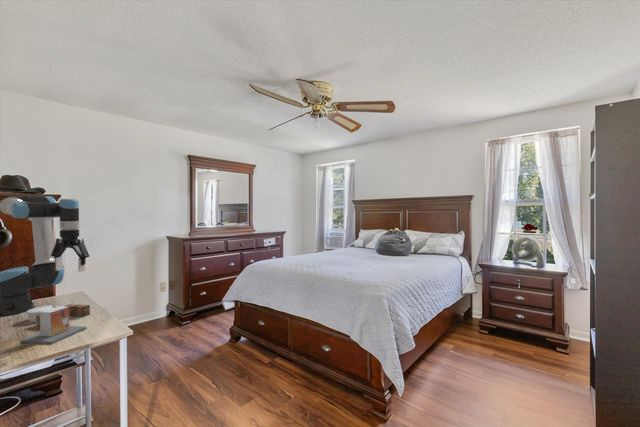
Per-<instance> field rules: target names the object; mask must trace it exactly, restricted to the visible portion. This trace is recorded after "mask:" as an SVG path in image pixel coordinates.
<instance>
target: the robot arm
mask: <svg viewBox="0 0 640 427" xmlns="http://www.w3.org/2000/svg"><path fill="white" fill-rule="evenodd" d="M0 212H1V213H3V214H5V215H7V216H12V218H14V219H27V220H29V221H31V227H32V237H33V248H34V250H33V251H34V258H35V259H34V260H35V261H34V263H33V264H32V265H31V266H32V267H31V268H29V266H17V267H12V268H8V269H5V270H2V271H0V317H3V316H12V315H17V314H20V313H26V312H27V311H28V310H30V309H33V308H35V304H34V303H35V302H33V299H32V298H31V296H30V290H34V289H40V288H44V287H46V288H47V287H52V286H56V285H59V284H61V283H62V282H63V279H64V277H65V267H64V264H63V256H62V255H63V254H64V253H65V251H66V250H67V249H68V248H69V249H72V250H73V251H74V252H75V253H76V255H77V256H78V259H77V260H78V262H77V263H78V264H77V265H78V266H77V268H78V273H82V272H85V271H86V259H87V258H89V257H90V254H89V252H88V249H87V247H86V245H85V240H84V238H79V239H78V237H79V236H80V203H79V199H76V198H75V199H74V198H60V199H59V200H58V202H57V201H56V199H55V198H54V196H50V195H49V196H45V195H12V196H7V197H5V198H3V199H2V200H0ZM54 218H59V229H60V230H59V237H60V238H56V239H55V238H54V232H53V220H54ZM54 239H55V240H54Z"/></svg>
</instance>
